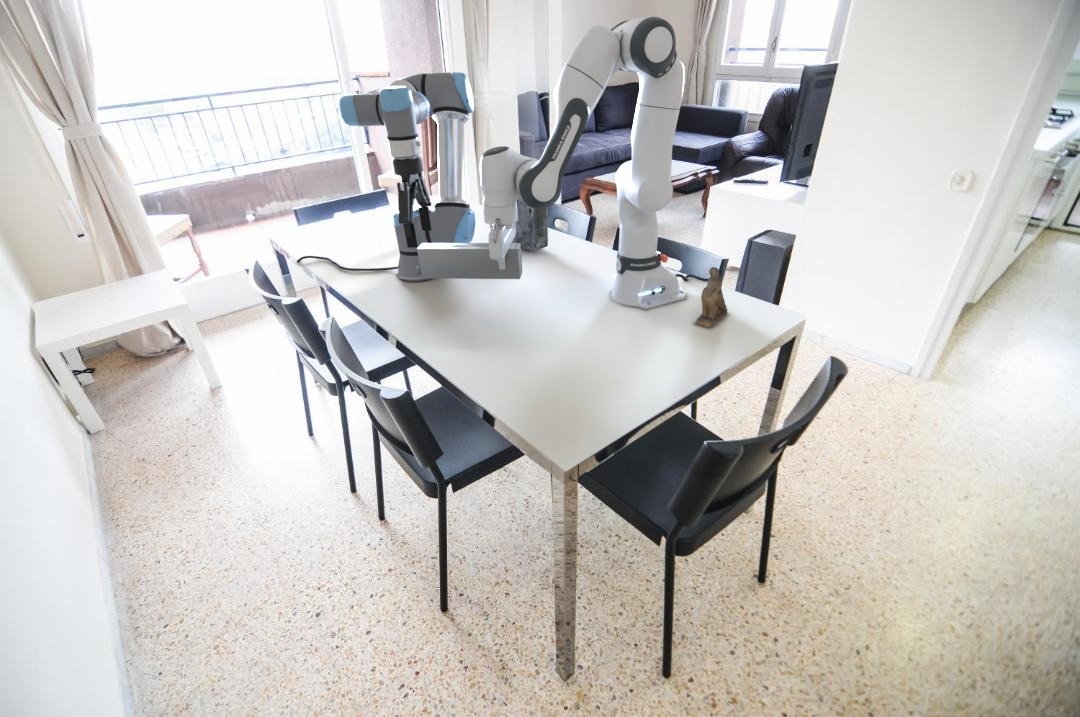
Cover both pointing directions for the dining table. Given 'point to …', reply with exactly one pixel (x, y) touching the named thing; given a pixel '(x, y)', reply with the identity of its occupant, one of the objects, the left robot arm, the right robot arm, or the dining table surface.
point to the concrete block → (531, 227)
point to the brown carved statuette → (712, 301)
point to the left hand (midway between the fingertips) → (420, 238)
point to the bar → (467, 261)
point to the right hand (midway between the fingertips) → (504, 264)
